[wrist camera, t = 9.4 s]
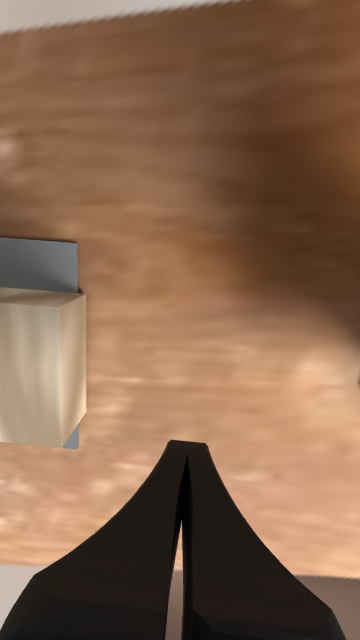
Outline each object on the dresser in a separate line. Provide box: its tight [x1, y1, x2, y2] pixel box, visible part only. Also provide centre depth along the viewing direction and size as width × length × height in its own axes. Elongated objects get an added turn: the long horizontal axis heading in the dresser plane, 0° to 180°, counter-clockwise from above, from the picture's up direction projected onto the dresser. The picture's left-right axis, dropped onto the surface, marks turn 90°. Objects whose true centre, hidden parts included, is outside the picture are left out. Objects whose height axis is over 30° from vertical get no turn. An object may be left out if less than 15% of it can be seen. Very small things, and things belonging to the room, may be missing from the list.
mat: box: [0, 237, 79, 449], centre depth 22 cm, size 10×14×1 cm
